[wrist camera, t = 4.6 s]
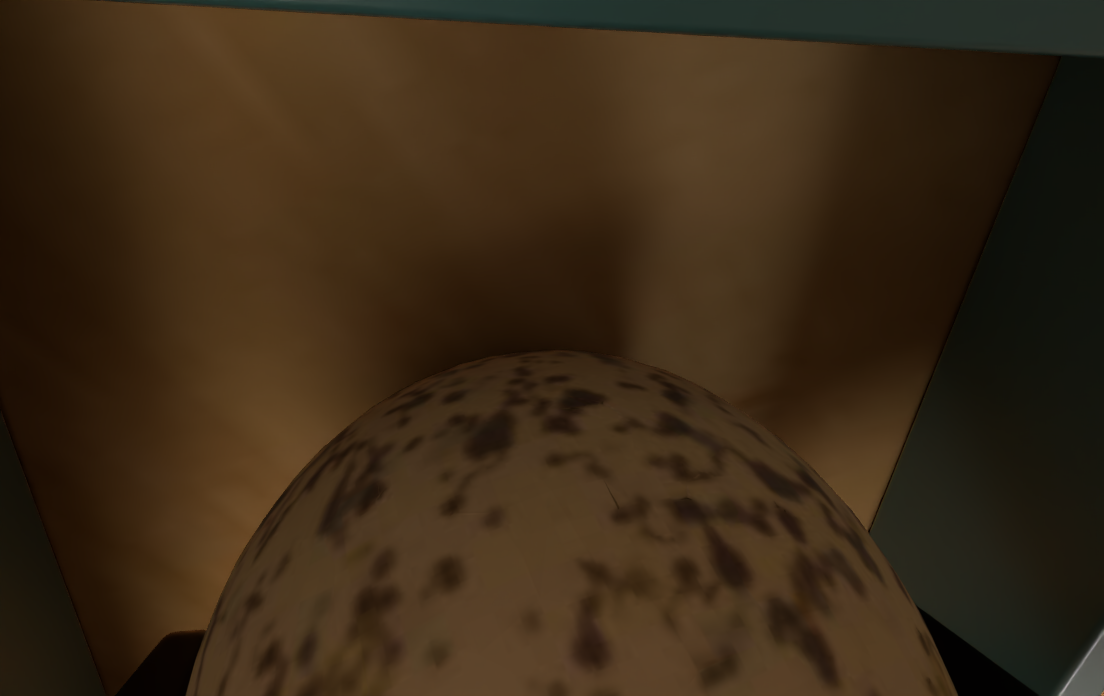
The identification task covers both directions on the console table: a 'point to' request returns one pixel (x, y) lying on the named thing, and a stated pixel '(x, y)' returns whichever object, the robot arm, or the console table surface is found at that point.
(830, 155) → the console table surface
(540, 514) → the decorative egg
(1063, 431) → the frame
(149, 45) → the console table surface
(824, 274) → the console table surface
